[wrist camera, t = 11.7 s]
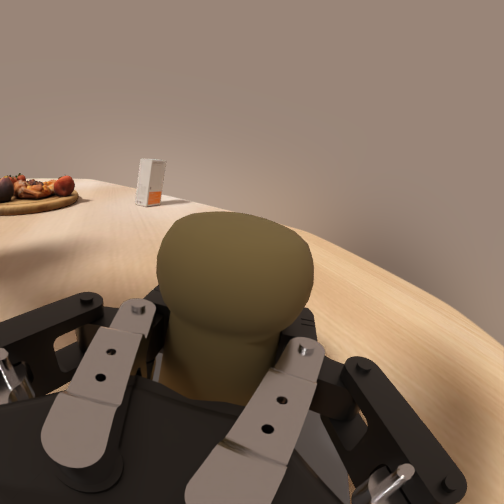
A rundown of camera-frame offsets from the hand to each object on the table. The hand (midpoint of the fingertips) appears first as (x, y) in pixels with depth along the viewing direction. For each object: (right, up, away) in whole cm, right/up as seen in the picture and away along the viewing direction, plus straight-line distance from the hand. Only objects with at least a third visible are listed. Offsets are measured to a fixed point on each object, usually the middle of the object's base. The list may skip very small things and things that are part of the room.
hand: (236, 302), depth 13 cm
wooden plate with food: (-58, +15, +39) cm, 72 cm away
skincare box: (-26, +14, +55) cm, 63 cm away
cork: (-2, -7, -1) cm, 7 cm away
